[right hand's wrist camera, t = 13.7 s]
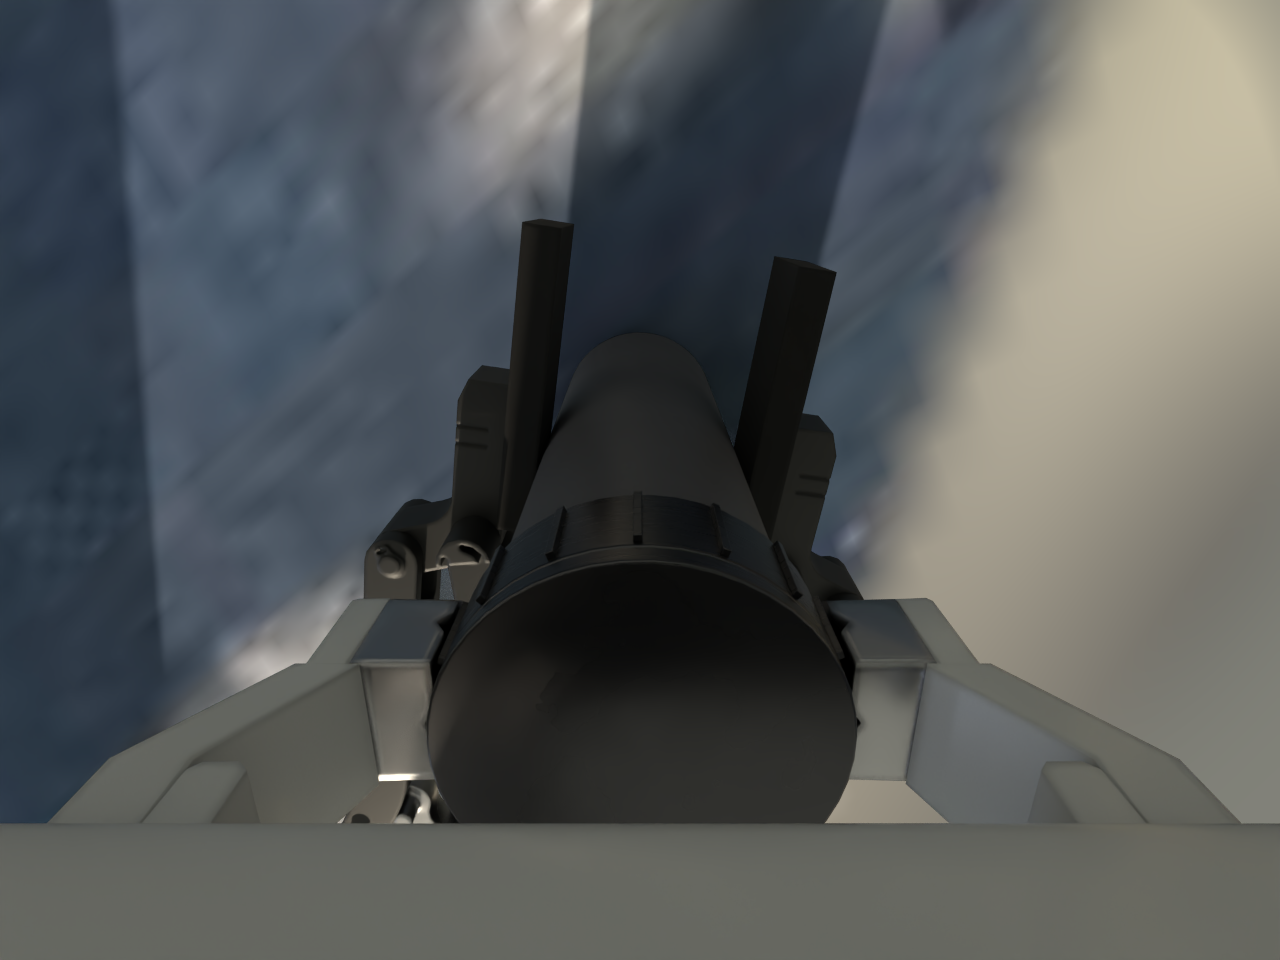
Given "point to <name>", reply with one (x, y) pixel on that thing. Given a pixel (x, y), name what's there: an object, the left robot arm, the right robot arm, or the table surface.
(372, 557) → the left robot arm
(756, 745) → the lid
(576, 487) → the dark gray cylinder
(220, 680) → the table surface
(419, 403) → the table surface
